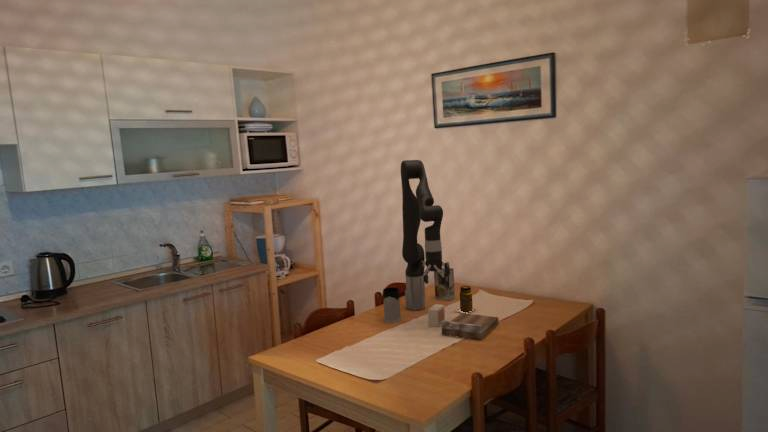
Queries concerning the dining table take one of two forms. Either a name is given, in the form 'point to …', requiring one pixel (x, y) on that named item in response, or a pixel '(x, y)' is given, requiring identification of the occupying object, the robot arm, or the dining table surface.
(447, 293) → the coffee box
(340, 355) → the dining table surface
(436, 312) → the tea box
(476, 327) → the grey rectangular slab
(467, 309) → the condiment
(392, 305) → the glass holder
